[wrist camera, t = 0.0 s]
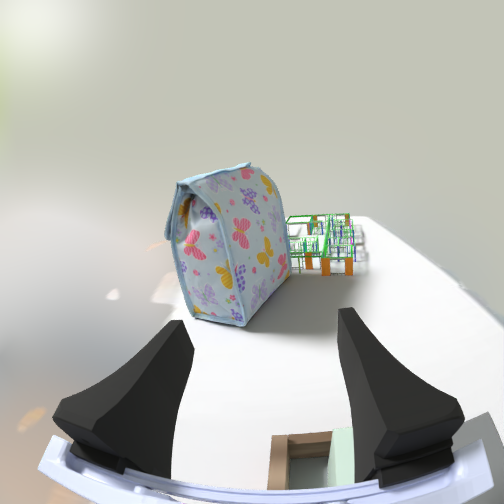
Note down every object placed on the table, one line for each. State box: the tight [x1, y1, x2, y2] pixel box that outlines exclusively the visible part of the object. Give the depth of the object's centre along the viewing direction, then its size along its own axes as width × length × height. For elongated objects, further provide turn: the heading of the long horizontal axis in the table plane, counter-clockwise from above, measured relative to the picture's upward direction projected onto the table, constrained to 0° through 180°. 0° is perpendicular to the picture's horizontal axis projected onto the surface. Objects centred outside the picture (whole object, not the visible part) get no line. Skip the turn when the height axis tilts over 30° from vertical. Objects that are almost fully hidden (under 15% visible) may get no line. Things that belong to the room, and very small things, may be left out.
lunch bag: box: [164, 162, 292, 327], centre depth 54 cm, size 22×17×26 cm
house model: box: [286, 213, 356, 276], centre depth 78 cm, size 35×30×5 cm
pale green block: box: [327, 427, 354, 487], centre depth 14 cm, size 12×3×9 cm, turn 174°
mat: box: [451, 412, 504, 504], centre depth 13 cm, size 14×8×1 cm, turn 174°
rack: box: [267, 431, 333, 490], centre depth 14 cm, size 17×17×5 cm
